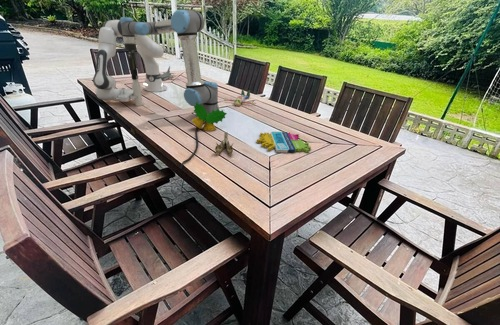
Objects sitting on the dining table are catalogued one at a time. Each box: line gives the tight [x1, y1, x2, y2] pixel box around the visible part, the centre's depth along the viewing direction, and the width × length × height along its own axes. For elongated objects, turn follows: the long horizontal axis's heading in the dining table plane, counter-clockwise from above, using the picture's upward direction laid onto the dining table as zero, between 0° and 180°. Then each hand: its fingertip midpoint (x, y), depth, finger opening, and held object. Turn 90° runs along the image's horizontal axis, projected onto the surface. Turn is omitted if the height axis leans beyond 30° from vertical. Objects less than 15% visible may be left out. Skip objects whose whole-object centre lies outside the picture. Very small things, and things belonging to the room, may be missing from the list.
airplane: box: [160, 65, 176, 81], centre depth 271 cm, size 38×32×10 cm
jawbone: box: [214, 131, 234, 156], centre depth 136 cm, size 9×15×10 cm
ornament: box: [191, 102, 228, 132], centre depth 162 cm, size 21×8×15 cm, turn 105°
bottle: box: [131, 78, 144, 107], centre depth 192 cm, size 6×6×20 cm
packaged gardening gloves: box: [256, 131, 312, 154], centre depth 152 cm, size 26×2×30 cm
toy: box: [223, 89, 257, 106], centre depth 219 cm, size 28×7×30 cm
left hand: (138, 96), depth 194 cm, fingers closed on bottle, 5 cm apart
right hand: (135, 78), depth 188 cm, fingers closed on cap, 4 cm apart
